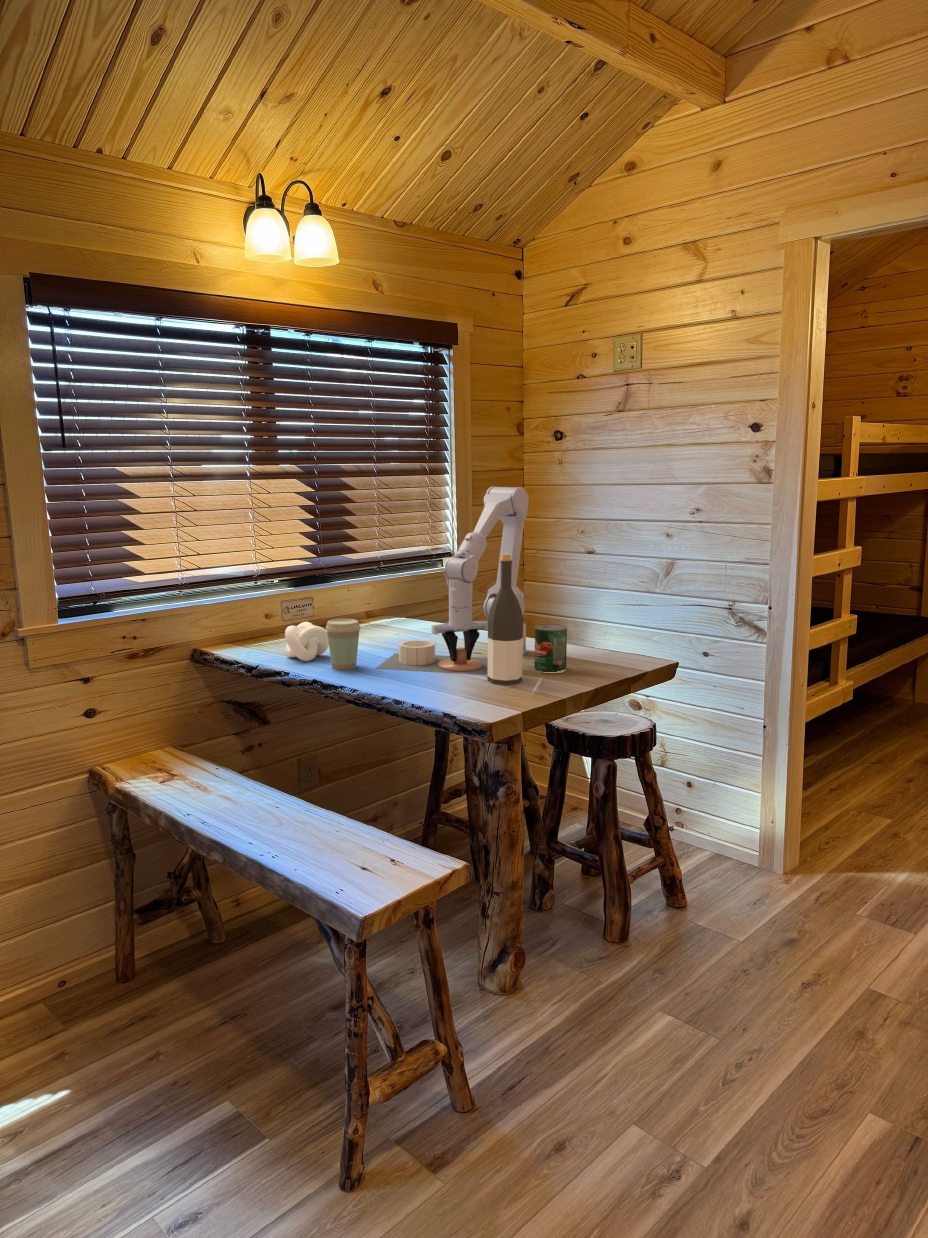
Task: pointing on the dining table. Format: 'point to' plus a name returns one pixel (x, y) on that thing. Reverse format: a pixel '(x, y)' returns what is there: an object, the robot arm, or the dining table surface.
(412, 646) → the bowl
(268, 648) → the dining table surface
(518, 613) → the wine bottle
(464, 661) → the lid
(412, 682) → the dining table surface
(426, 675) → the dining table surface
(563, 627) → the canned tomato
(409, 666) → the mat
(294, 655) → the white knot sculpture
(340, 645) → the coffee cup
